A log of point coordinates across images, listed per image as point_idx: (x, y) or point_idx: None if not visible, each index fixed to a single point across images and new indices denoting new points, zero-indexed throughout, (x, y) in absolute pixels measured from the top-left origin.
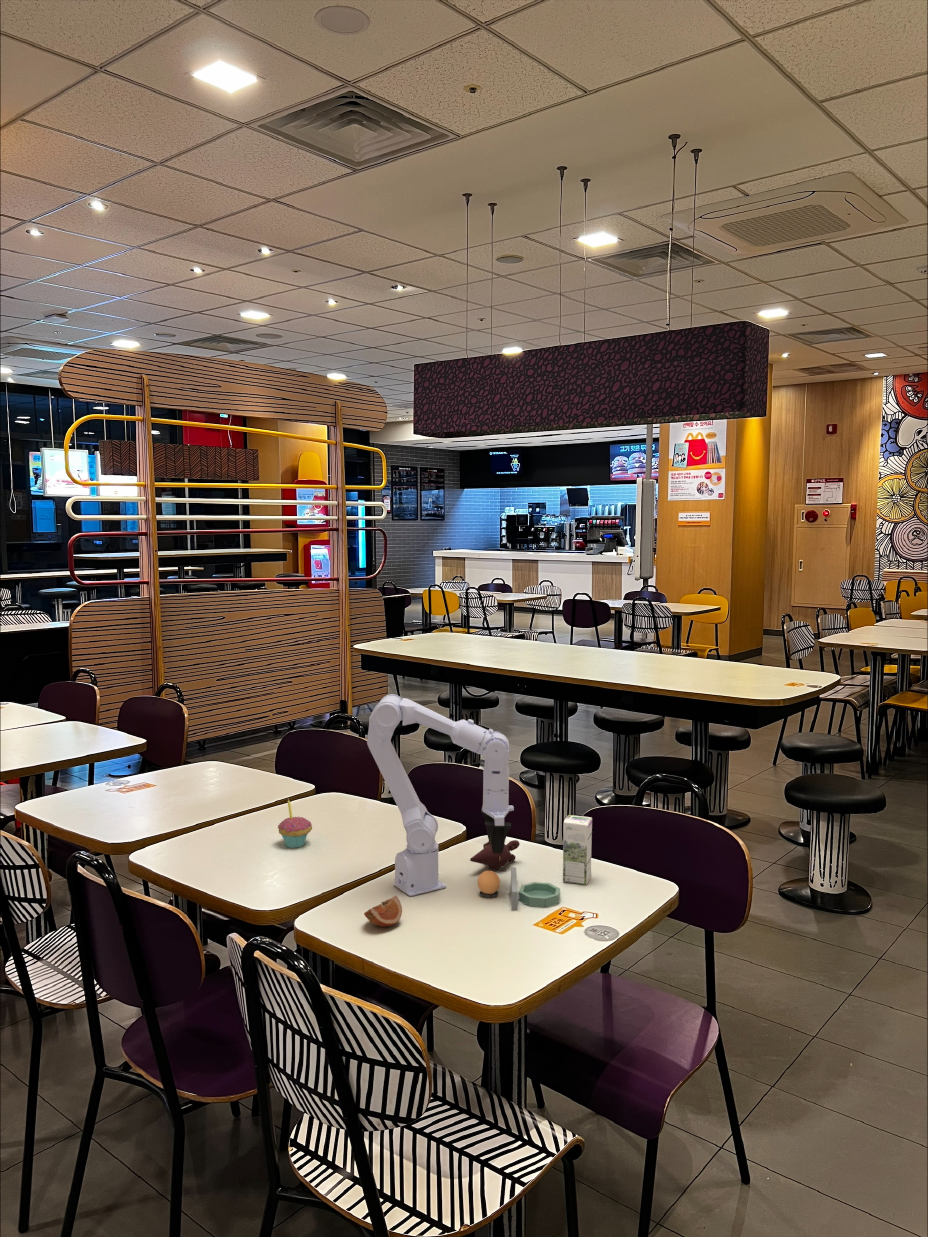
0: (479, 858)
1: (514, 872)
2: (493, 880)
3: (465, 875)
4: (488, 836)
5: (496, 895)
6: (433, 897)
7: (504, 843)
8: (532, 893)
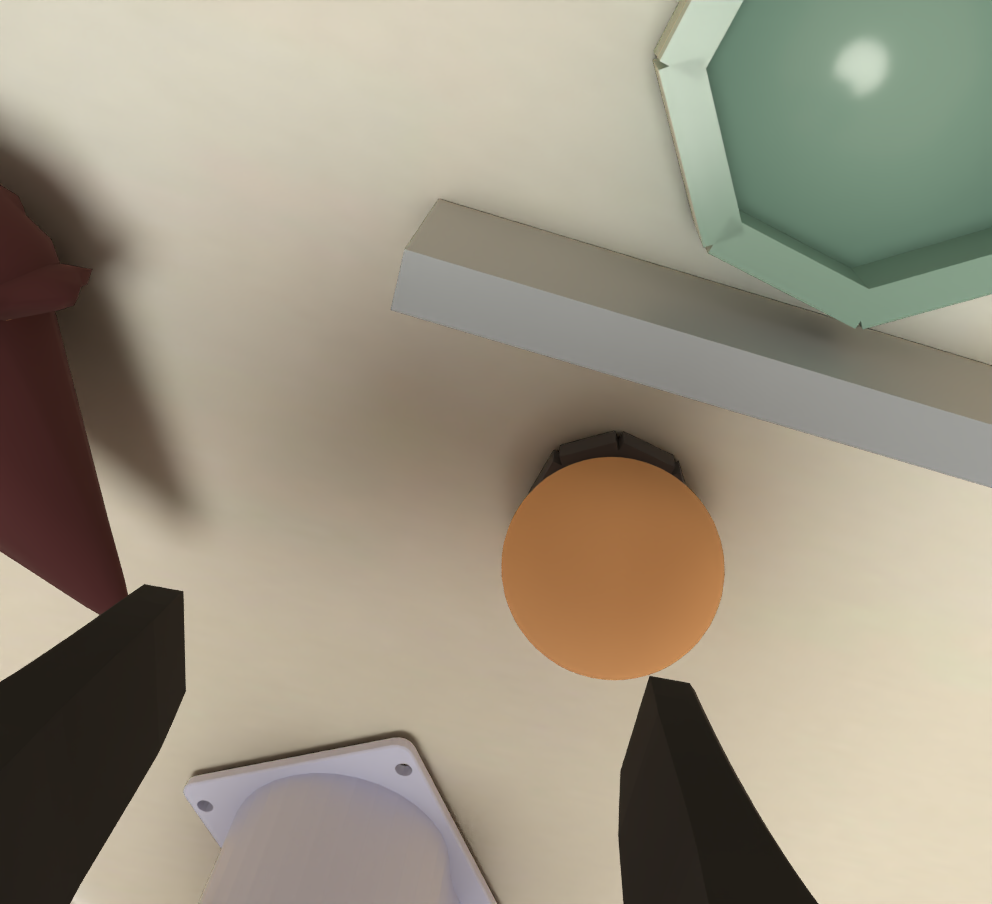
0: (95, 541)
1: (567, 323)
2: (713, 586)
3: (170, 555)
4: (148, 757)
5: (672, 462)
6: (547, 826)
7: (742, 792)
8: (796, 131)
